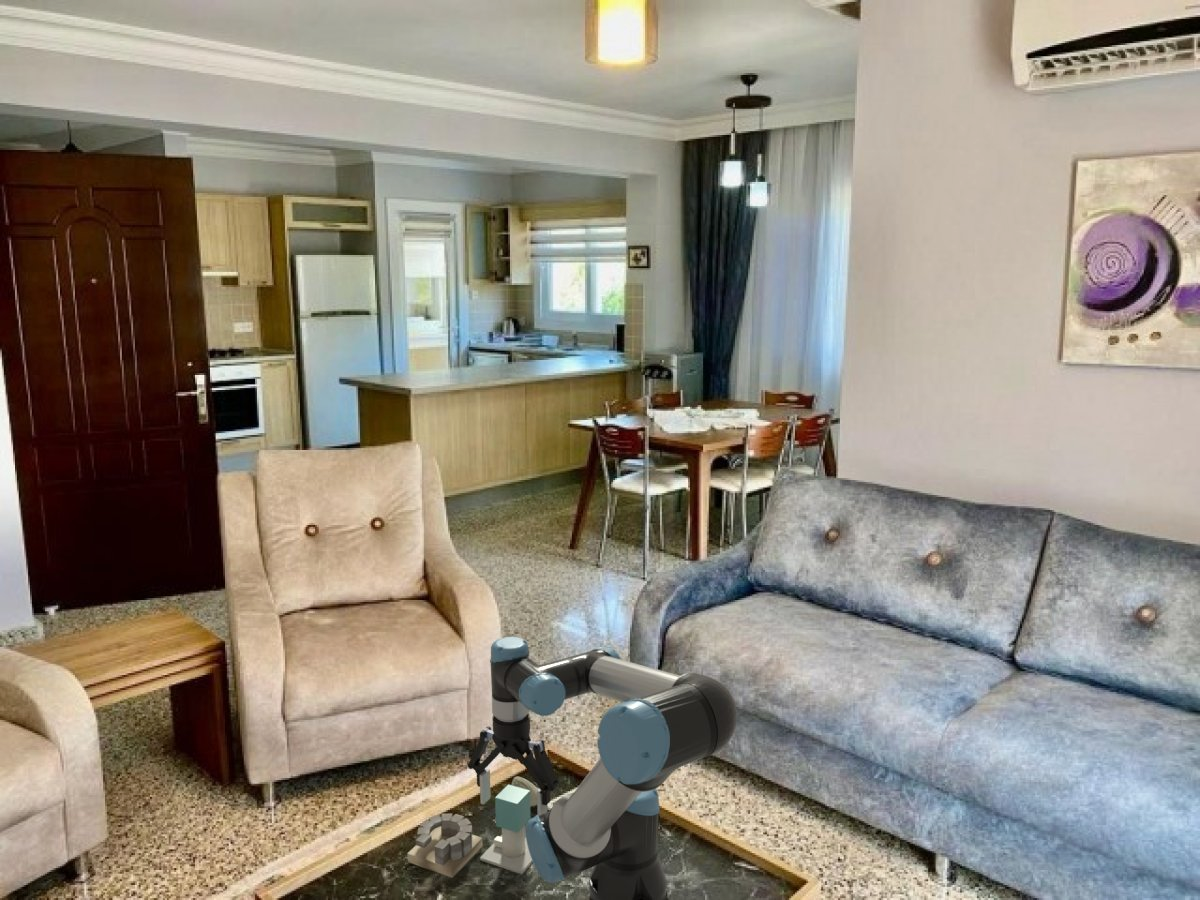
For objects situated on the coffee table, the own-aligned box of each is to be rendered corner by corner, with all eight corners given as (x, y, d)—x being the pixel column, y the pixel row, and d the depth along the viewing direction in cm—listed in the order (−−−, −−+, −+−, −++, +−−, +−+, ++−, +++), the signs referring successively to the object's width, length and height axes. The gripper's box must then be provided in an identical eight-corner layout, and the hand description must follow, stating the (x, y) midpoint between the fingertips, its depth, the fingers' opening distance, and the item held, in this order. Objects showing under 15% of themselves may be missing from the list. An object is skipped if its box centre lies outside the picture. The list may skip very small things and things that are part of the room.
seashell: (508, 814, 199) (497, 782, 205) (518, 827, 206) (507, 795, 211) (542, 797, 201) (530, 765, 206) (551, 810, 207) (539, 779, 212)
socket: (482, 846, 192) (481, 822, 191) (452, 877, 183) (451, 852, 181) (439, 832, 197) (438, 808, 196) (407, 861, 187) (406, 837, 186)
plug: (531, 846, 191) (530, 790, 189) (518, 861, 187) (517, 803, 184) (502, 837, 194) (501, 782, 192) (489, 851, 190) (487, 795, 187)
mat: (546, 845, 192) (546, 843, 192) (522, 874, 184) (522, 871, 184) (505, 832, 197) (505, 830, 197) (480, 860, 188) (480, 857, 188)
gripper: (574, 718, 181) (576, 814, 186) (469, 693, 192) (472, 785, 196) (556, 735, 175) (558, 834, 179) (448, 709, 185) (452, 803, 190)
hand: (513, 809), depth 188 cm, fingers open, 13 cm apart
